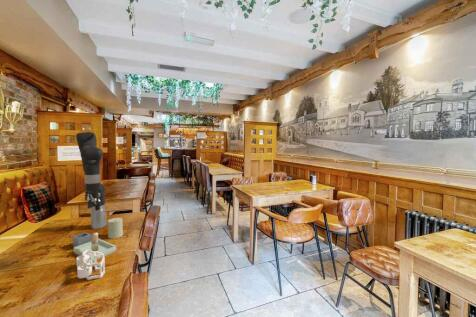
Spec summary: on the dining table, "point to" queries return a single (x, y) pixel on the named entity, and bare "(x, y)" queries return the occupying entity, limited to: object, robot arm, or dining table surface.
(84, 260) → the white wireframe roller cage
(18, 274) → the dining table surface
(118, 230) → the can
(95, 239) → the dowel pin
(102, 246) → the tray
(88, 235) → the deep cup
